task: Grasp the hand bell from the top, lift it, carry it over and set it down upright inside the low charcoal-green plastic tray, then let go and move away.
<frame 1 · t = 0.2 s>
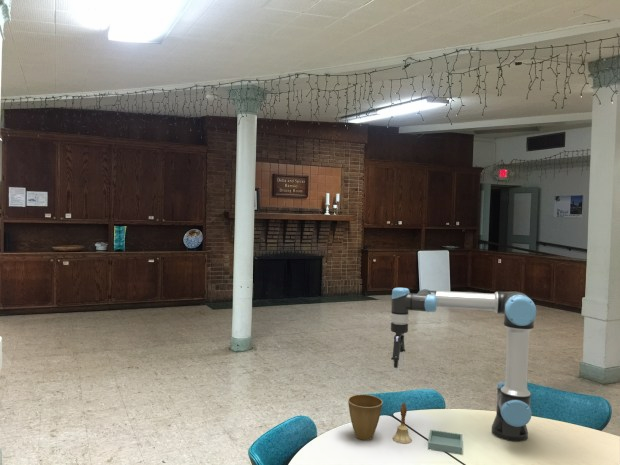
hand: (398, 370, 227), 28 cm above the table, tool pointing down, fingers open, 13 cm apart
plant pot: (364, 437, 222), on the table
hand bell: (402, 440, 220), on the table
tray: (445, 444, 216), on the table
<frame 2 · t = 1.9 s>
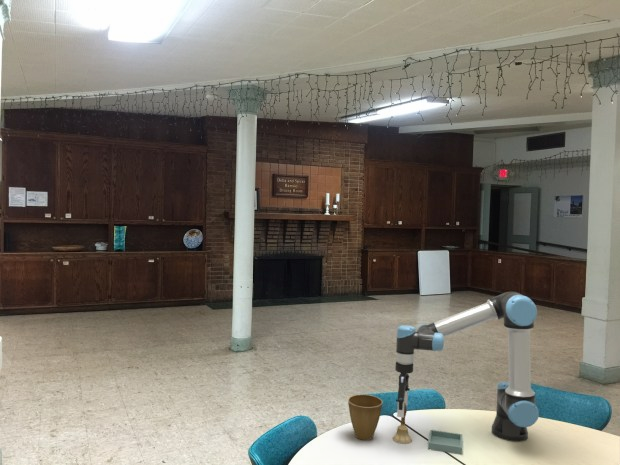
hand: (402, 411, 220), 12 cm above the table, tool pointing down, fingers open, 13 cm apart
nothing on the table moved.
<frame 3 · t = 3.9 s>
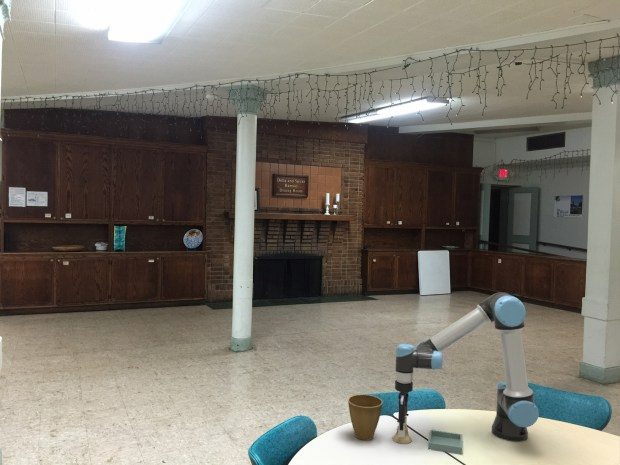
hand: (402, 433, 220), 2 cm above the table, tool pointing down, fingers closed on hand bell, 6 cm apart
hand bell: (402, 439, 220), on the table, touching gripper
everything else where it was.
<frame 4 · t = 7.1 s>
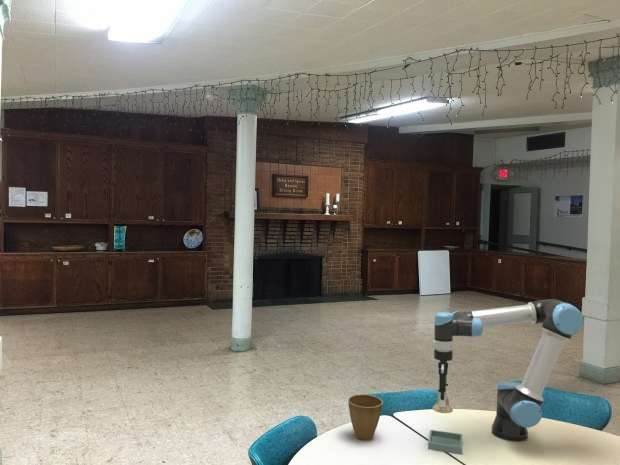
hand: (442, 404, 216), 17 cm above the table, tool pointing down, fingers closed on hand bell, 6 cm apart
hand bell: (442, 410, 216), point 15 cm above the table, touching gripper
everything else where it was.
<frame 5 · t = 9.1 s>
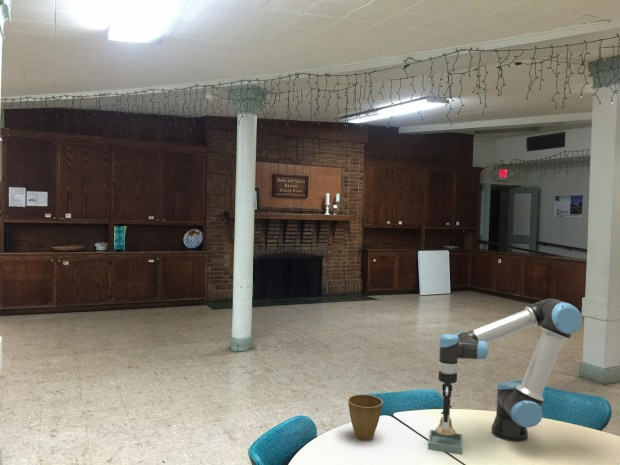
hand: (445, 425, 216), 8 cm above the table, tool pointing down, fingers closed on hand bell, 6 cm apart
hand bell: (445, 431, 216), point 6 cm above the table, touching gripper
everything else where it was.
when the fingers open (4 cm above the table, at t = 10.6 s): hand bell drops 1 cm, resting on tray.
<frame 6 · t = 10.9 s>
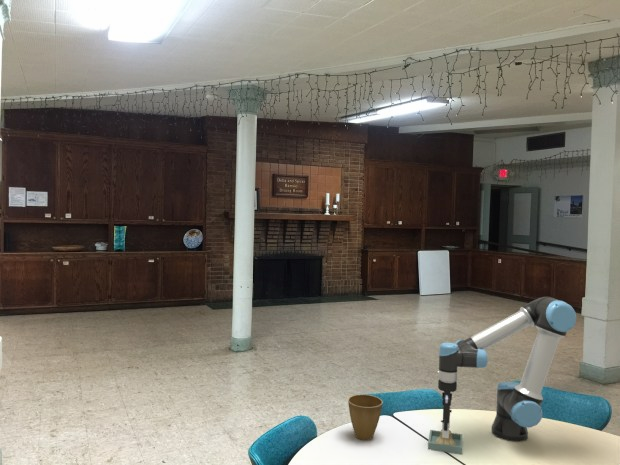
hand: (445, 432, 216), 5 cm above the table, tool pointing down, fingers open, 10 cm apart
hand bell: (445, 443, 216), resting on tray
everything else where it was.
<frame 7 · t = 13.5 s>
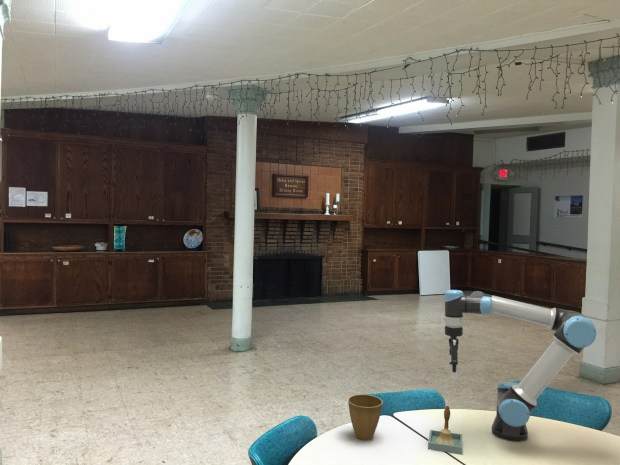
hand: (453, 374, 222), 28 cm above the table, tool pointing down, fingers open, 13 cm apart
nothing on the table moved.
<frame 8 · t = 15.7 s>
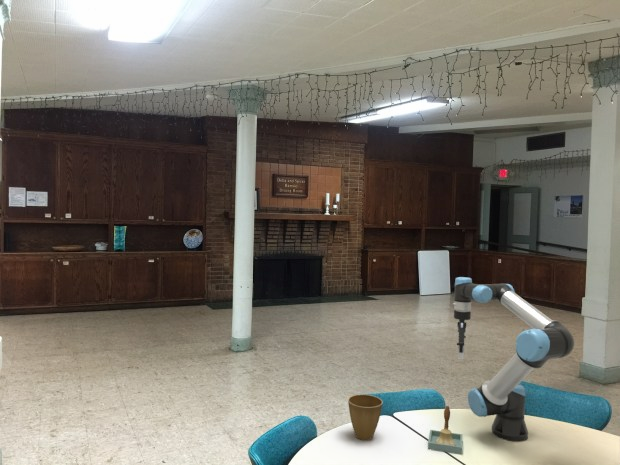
hand: (460, 355, 239), 32 cm above the table, tool pointing down, fingers open, 13 cm apart
nothing on the table moved.
at the end: hand bell inside the target area on the tray (0.1 cm from its centre), point 0.4 cm above the tray's base; hand bell tilted 0°; the gripper is holding nothing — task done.
